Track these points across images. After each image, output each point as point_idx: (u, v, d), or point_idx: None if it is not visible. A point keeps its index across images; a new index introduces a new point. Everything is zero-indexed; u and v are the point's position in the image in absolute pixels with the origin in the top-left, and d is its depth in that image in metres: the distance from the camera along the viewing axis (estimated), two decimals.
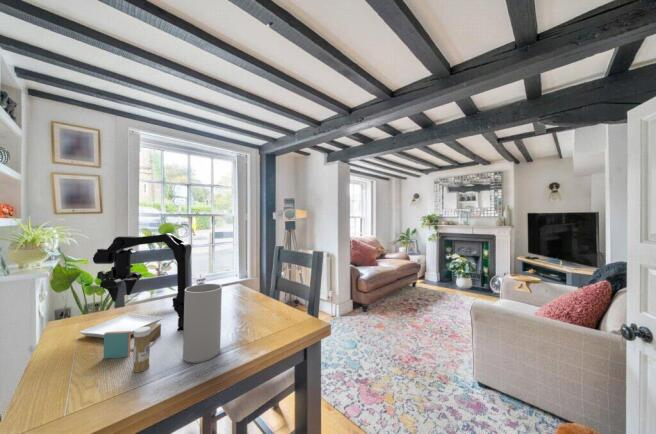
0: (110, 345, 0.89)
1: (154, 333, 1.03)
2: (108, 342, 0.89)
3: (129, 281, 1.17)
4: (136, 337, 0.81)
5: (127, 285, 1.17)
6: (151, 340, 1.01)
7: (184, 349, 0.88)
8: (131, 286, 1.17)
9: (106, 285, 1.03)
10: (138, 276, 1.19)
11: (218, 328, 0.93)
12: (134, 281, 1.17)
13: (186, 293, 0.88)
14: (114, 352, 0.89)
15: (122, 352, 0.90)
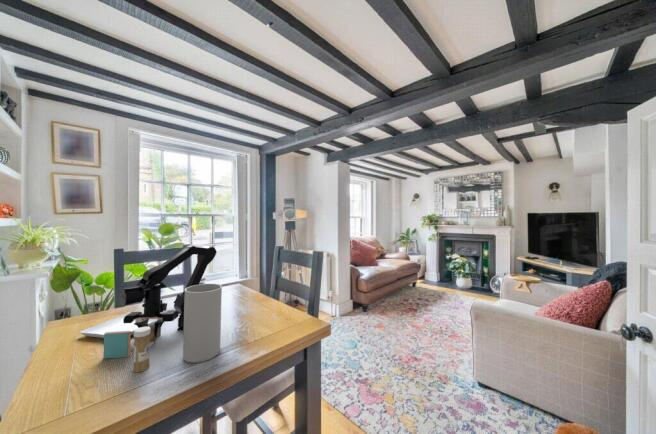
0: (110, 345, 0.89)
1: (154, 333, 1.03)
2: (108, 342, 0.89)
3: None
4: (136, 337, 0.81)
5: None
6: (151, 340, 1.01)
7: (184, 349, 0.88)
8: None
9: None
10: (164, 319, 1.02)
11: (218, 328, 0.93)
12: None
13: (186, 293, 0.88)
14: (114, 352, 0.89)
15: (122, 352, 0.90)
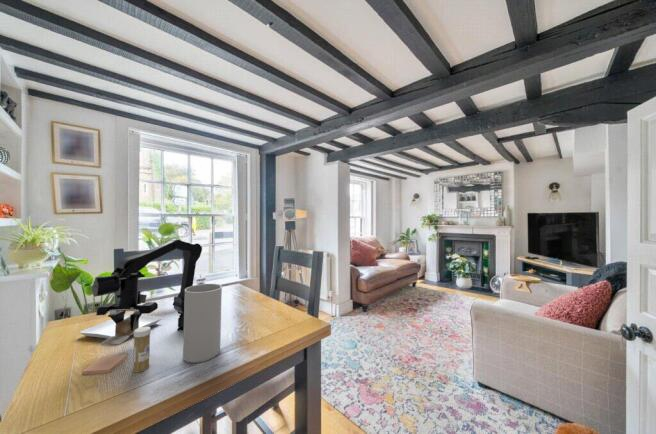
0: None
1: None
2: None
3: None
4: (136, 337, 0.81)
5: None
6: (126, 333, 0.93)
7: (184, 349, 0.88)
8: None
9: None
10: (141, 311, 0.94)
11: (218, 328, 0.93)
12: None
13: (186, 293, 0.88)
14: None
15: None
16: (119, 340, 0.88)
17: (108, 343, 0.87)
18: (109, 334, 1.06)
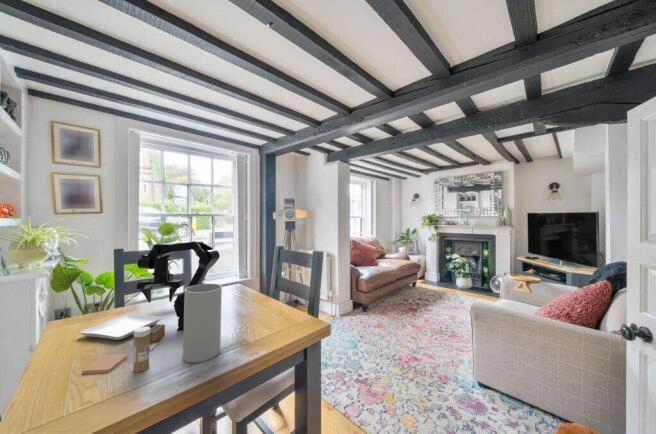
0: None
1: (158, 334, 1.03)
2: None
3: None
4: (136, 337, 0.81)
5: None
6: (155, 341, 1.00)
7: (184, 349, 0.88)
8: None
9: None
10: (172, 285, 1.16)
11: (218, 328, 0.93)
12: None
13: (186, 293, 0.88)
14: None
15: None
16: (150, 347, 0.95)
17: None
18: (109, 334, 1.06)
